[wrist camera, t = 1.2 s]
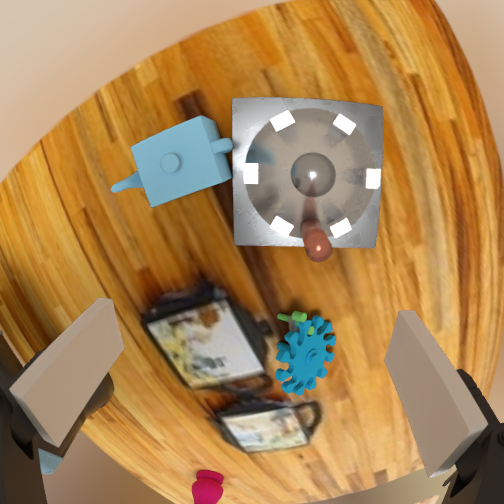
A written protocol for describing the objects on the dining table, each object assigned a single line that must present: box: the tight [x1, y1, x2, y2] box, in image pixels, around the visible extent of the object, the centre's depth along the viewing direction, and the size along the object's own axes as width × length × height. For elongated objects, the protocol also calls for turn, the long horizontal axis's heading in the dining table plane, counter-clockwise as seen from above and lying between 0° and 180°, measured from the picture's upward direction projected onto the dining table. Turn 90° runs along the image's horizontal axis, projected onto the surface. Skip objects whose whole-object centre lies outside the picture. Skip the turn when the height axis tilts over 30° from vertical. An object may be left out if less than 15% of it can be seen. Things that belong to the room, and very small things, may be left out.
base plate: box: [232, 97, 383, 248], centre depth 28 cm, size 15×15×2 cm
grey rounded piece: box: [244, 108, 379, 262], centre depth 23 cm, size 12×12×8 cm
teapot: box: [111, 115, 233, 208], centre depth 26 cm, size 12×6×8 cm, turn 108°
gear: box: [275, 311, 336, 395], centre depth 33 cm, size 11×6×10 cm
